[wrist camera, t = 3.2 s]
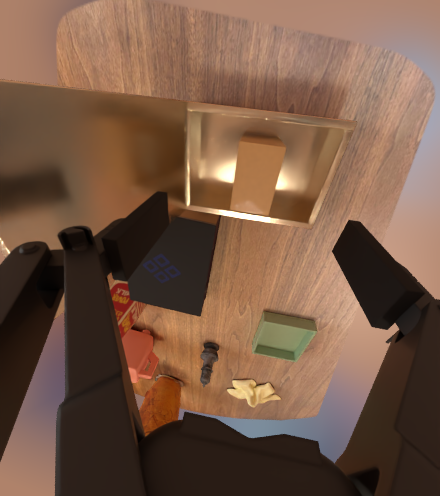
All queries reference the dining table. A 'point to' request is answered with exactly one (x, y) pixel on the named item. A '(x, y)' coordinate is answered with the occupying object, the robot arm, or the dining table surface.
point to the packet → (256, 173)
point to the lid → (83, 159)
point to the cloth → (253, 392)
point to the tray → (283, 336)
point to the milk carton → (125, 306)
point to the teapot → (139, 354)
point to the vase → (161, 403)
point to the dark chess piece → (208, 361)
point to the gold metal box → (292, 170)
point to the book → (178, 265)
